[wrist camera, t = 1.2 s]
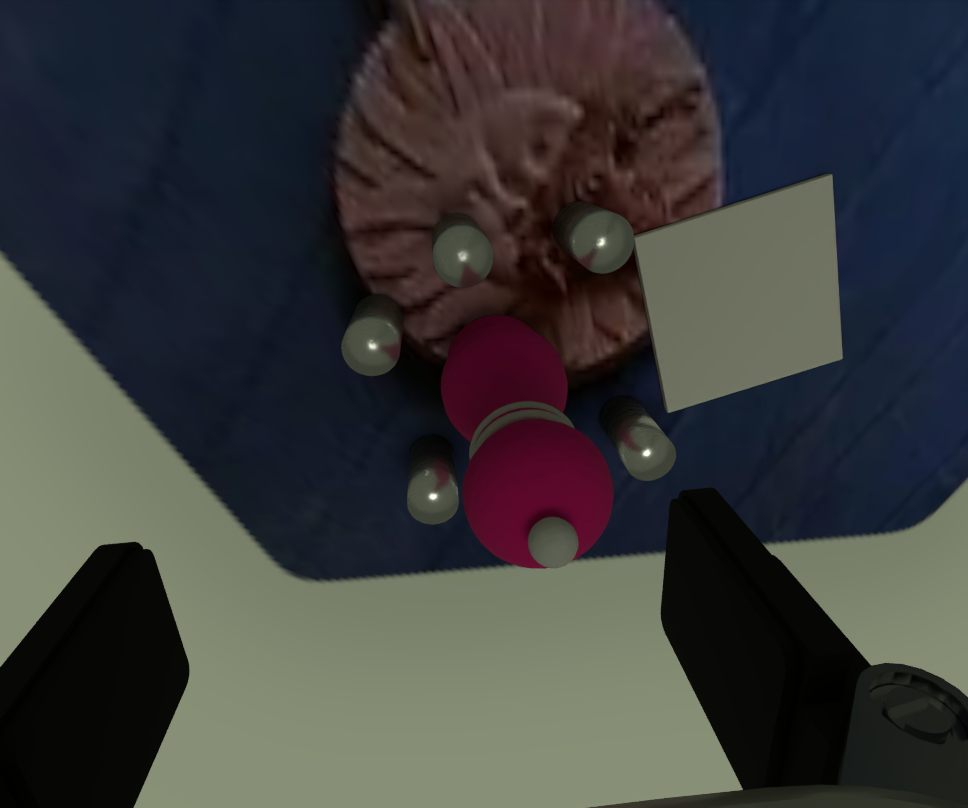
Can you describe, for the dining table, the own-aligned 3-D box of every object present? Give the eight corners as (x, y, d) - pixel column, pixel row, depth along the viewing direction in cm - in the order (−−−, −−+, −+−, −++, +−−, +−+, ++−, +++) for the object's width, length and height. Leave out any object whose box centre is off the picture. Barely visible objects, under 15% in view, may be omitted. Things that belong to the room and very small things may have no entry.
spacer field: (590, 167, 35) (622, 173, 29) (650, 446, 42) (683, 492, 37) (326, 254, 35) (308, 275, 30) (432, 513, 43) (433, 568, 37)
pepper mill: (514, 430, 41) (587, 663, 23) (419, 383, 39) (413, 598, 21) (572, 339, 39) (704, 517, 20) (474, 285, 37) (522, 428, 18)
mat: (825, 173, 36) (832, 174, 35) (837, 356, 41) (842, 358, 40) (631, 236, 36) (634, 238, 36) (664, 409, 41) (668, 412, 41)
